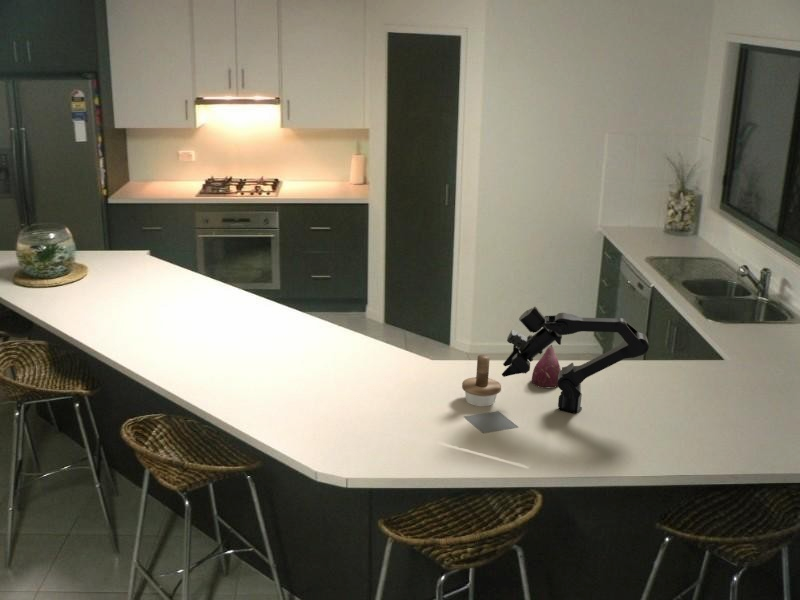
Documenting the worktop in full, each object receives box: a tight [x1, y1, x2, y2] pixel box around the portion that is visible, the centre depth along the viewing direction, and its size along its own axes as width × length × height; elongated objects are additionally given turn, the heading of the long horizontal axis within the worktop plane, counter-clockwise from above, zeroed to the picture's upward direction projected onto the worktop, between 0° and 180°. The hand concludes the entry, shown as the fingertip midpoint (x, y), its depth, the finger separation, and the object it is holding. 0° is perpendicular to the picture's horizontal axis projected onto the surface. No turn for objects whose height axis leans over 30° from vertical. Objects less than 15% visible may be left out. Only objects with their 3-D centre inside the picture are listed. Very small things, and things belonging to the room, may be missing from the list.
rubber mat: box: [463, 410, 519, 434], centre depth 322 cm, size 13×13×1 cm
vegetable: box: [531, 344, 562, 388], centre depth 355 cm, size 10×10×15 cm
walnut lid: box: [461, 354, 502, 396], centre depth 334 cm, size 13×13×11 cm
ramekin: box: [464, 391, 498, 407], centre depth 337 cm, size 11×11×5 cm
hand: (503, 370), depth 333 cm, fingers open, 9 cm apart
